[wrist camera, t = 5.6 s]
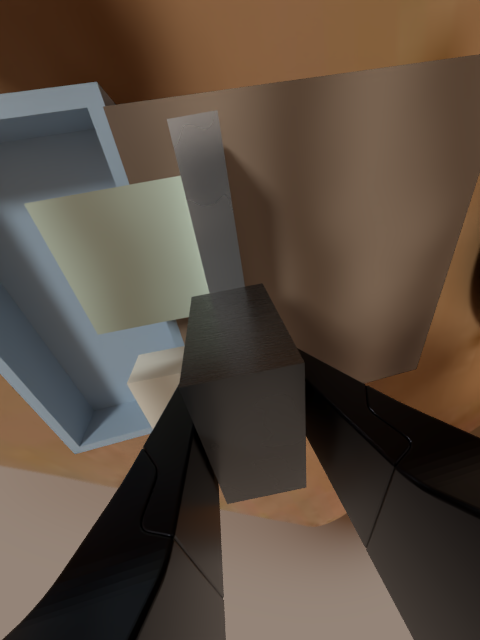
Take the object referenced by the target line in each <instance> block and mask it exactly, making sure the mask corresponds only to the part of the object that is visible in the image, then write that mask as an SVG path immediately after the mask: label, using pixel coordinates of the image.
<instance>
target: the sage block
mask: <svg viewBox="0 0 480 640" xmlns="http://www.w3.org/2000/svg"><path fill="white" fill-rule="evenodd" d="M24 205H25V207H26V209H27V210H28V212H29V214H30V216H31V217H32V219H33V221H34V223H35V224H36V226H37V228H38V230H39V231H40V233H41V235H42V237H43V239H44V240H45V242H46V244H47V246H48V247H49V249H50V251H51V253H52V254H53V256H54V258H55V260H56V262H57V263H58V265H59V267H60V269H61V270H62V272H63V274H64V276H65V277H66V279H67V281H68V283H69V284H70V286H71V288H72V290H73V292H74V293H75V295H76V297H77V299H78V300H79V302H80V304H81V306H82V307H83V309H84V311H85V313H86V315H87V316H88V318H89V320H90V322H91V323H92V325H93V327H94V329H95V330H96V332H97V334H98V335H99V334H104V333H109V332H115V331H120V330H125V329H130V328H135V327H140V326H145V325H150V324H155V323H160V322H165V321H171V320H176V319H181V318H186V317H189V312H190V305H191V298H192V297H193V296H199V295H204V294H209V289H208V285H207V281H206V277H205V273H204V269H203V265H202V261H201V257H200V253H199V249H198V245H197V241H196V237H195V232H194V228H193V224H192V220H191V216H190V212H189V208H188V204H187V200H186V196H185V192H184V188H183V184H182V180H181V176H176V177H170V178H164V179H159V180H153V181H148V182H142V183H136V184H131V185H125V186H120V187H114V188H108V189H103V190H97V191H92V192H86V193H81V194H75V195H69V196H64V197H58V198H53V199H47V200H41V201H36V202H30V203H25V204H24Z"/></svg>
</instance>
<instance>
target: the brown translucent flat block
mask: <svg viewBox="0 0 480 640" xmlns="http://www.w3.org/2000/svg"><path fill="white" fill-rule="evenodd" d="M103 109H104V112H105V114H106V117H107V120H108V123H109V126H110V129H111V132H112V135H113V138H114V141H115V144H116V147H117V149H118V152H119V155H120V158H121V161H122V164H123V167H124V170H125V173H126V176H127V179H128V182H129V184H130V185H131V184H136V183H142V182H148V181H153V180H159V179H164V178H170V177H176V176H181V175H180V171H179V167H178V163H177V159H176V155H175V151H174V147H173V143H172V139H171V135H170V131H169V127H168V123H167V119H170V118H176V117H182V116H187V115H193V114H199V113H204V112H210V111H216V110H218V117H219V123H220V130H221V136H222V143H223V149H224V155H225V162H226V168H227V175H228V181H229V188H230V194H231V200H232V207H233V213H234V220H235V226H236V233H237V239H238V245H239V252H240V258H241V265H242V271H243V278H244V284H245V287H246V286H251V285H256V284H261V283H263V285H264V287H265V289H266V291H267V293H268V294H269V296H270V298H271V300H272V302H273V304H274V306H275V308H276V310H277V311H278V313H279V315H280V317H281V319H282V321H283V323H284V325H285V327H286V328H287V330H288V332H289V334H290V336H291V338H292V340H293V342H294V344H295V345H296V347H297V348H298V349H300V350H302V351H304V352H306V353H308V354H310V355H312V356H313V357H315V358H317V359H319V360H321V361H323V362H325V363H326V364H328V365H330V366H332V367H334V368H336V369H338V370H340V371H341V372H343V373H345V374H347V375H349V376H351V377H353V378H354V379H356V380H358V381H360V382H362V383H368V382H371V381H375V380H378V379H382V378H386V377H389V376H393V375H396V374H400V373H404V372H407V371H411V370H414V369H416V368H417V365H418V362H419V359H420V356H421V353H422V350H423V347H424V344H425V341H426V337H427V334H428V331H429V328H430V325H431V322H432V319H433V316H434V313H435V310H436V306H437V303H438V300H439V297H440V294H441V291H442V288H443V285H444V282H445V278H446V275H447V272H448V269H449V266H450V263H451V260H452V257H453V254H454V251H455V247H456V244H457V241H458V238H459V235H460V232H461V229H462V226H463V223H464V220H465V216H466V213H467V210H468V207H469V204H470V201H471V198H472V195H473V192H474V189H475V185H476V182H477V179H478V176H479V173H480V55H472V56H465V57H458V58H451V59H443V60H436V61H429V62H422V63H414V64H407V65H400V66H393V67H386V68H378V69H371V70H364V71H357V72H349V73H342V74H335V75H328V76H320V77H313V78H306V79H299V80H291V81H284V82H277V83H270V84H262V85H255V86H248V87H241V88H234V89H226V90H219V91H212V92H205V93H197V94H190V95H183V96H176V97H168V98H161V99H154V100H147V101H139V102H132V103H125V104H118V105H111V106H103ZM188 319H189V317H186V318H181V319H176V322H177V325H178V327H179V330H180V333H181V336H182V339H183V342H184V345H185V340H186V333H187V326H188Z"/></svg>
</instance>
